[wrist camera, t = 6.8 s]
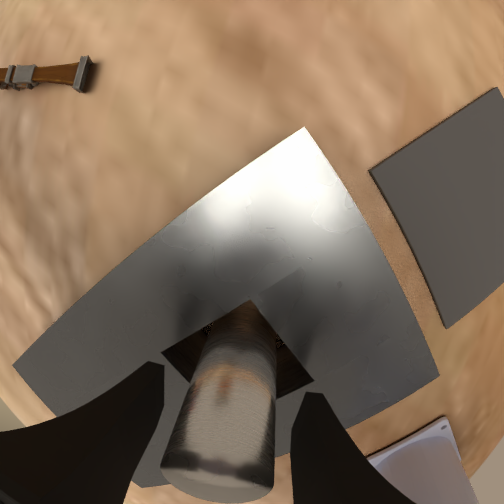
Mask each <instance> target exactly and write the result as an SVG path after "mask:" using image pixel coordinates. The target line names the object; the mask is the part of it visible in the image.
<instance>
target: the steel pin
mask: <svg viewBox="0 0 504 504" xmlns="http://www.w3.org/2000/svg"><path fill="white" fill-rule="evenodd" d="M275 423H276V331H275V330H274V329H273V328H272V326H271V325H270V324H269V322H268V321H267V320H266V319H265V317H264V316H263V315H262V313H261V312H260V311H259V310H258V308H257V307H256V306H255V304H254V303H253V302H252V300H251V299H249V300H248V301H246V302H244V303H243V304H241V305H240V306H238V307H236V308H235V309H233V310H231V311H230V312H228V313H226V314H225V315H223V316H221V317H220V318H218V319H216V320H215V321H214V322H213V324H212V327H211V330H210V332H209V335H208V338H207V340H206V343H205V345H204V348H203V351H202V353H201V356H200V359H199V361H198V364H197V367H196V369H195V372H194V374H193V377H192V380H191V382H190V385H189V388H188V390H187V393H186V396H185V398H184V401H183V404H182V406H181V409H180V412H179V415H178V417H177V420H176V423H175V425H174V428H173V431H172V433H171V436H170V439H169V442H168V444H167V447H166V450H165V452H164V455H163V458H162V461H161V464H160V469H161V472H162V474H163V476H164V477H165V478H166V480H167V481H168V482H169V483H171V484H172V485H173V486H175V487H176V488H177V489H179V490H181V491H183V492H185V493H187V494H189V495H191V496H194V497H197V498H200V499H203V500H207V501H212V502H219V503H244V502H250V501H254V500H257V499H260V498H262V497H264V496H265V495H267V494H268V493H269V492H270V491H271V490H272V488H273V486H274V464H275Z"/></svg>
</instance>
